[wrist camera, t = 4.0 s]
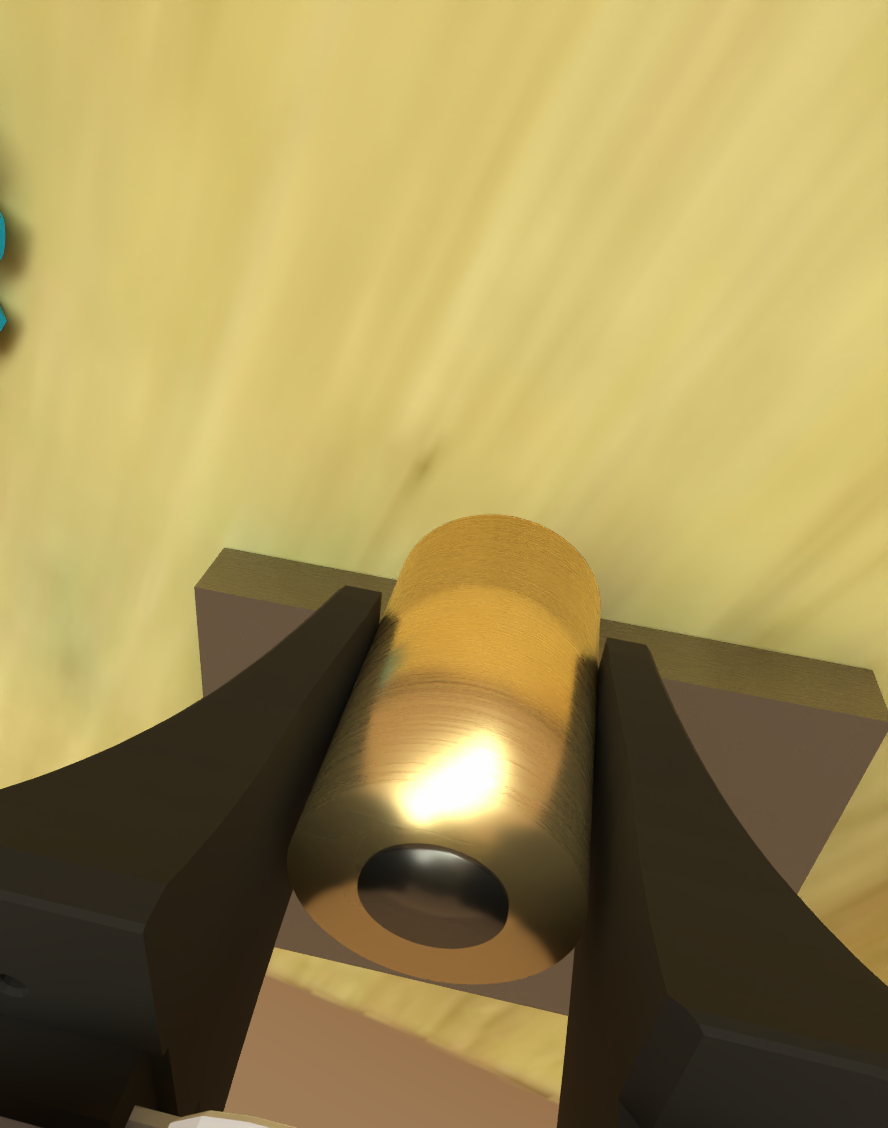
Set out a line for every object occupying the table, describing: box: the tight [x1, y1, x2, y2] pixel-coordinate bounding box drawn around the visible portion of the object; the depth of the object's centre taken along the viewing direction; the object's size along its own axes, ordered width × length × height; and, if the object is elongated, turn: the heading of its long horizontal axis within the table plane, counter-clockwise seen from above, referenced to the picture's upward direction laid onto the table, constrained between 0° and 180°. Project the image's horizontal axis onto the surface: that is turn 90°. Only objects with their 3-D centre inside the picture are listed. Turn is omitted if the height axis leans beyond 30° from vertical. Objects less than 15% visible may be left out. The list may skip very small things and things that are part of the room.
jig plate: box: [194, 548, 888, 1016], centre depth 27 cm, size 18×16×2 cm
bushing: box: [287, 515, 601, 985], centre depth 12 cm, size 4×4×6 cm
